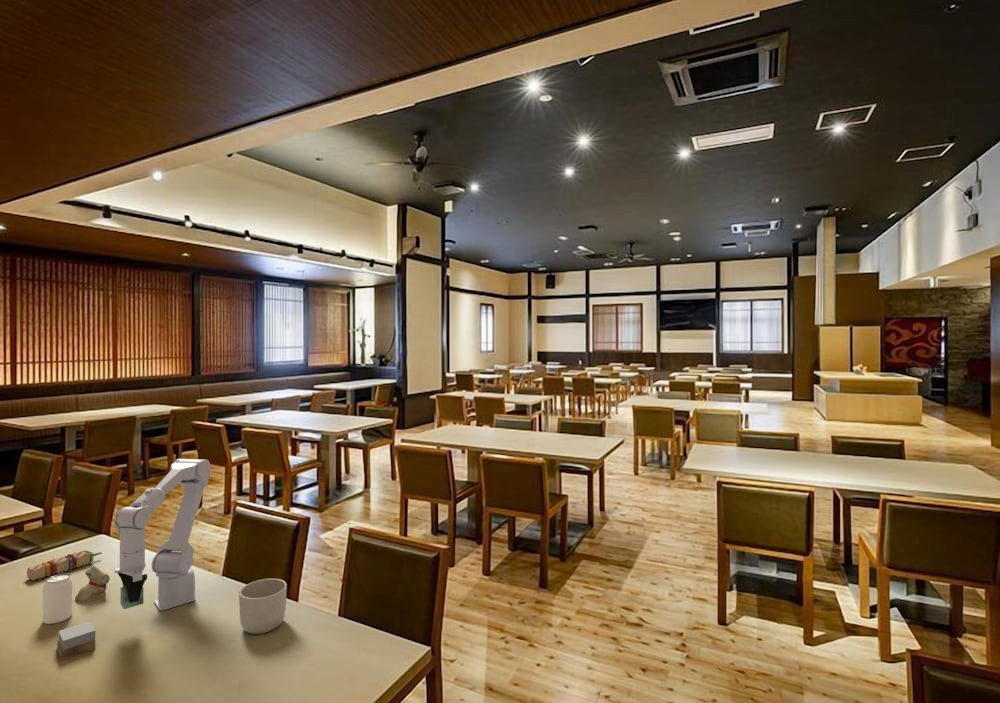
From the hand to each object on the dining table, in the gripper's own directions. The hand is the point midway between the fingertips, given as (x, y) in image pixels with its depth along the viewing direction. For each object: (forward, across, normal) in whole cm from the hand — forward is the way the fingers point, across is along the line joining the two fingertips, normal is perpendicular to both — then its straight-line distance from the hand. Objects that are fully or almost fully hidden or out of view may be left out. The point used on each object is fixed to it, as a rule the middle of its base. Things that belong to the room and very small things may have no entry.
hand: (132, 598), depth 142 cm
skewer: (+10, -62, -8) cm, 63 cm away
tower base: (+10, 0, -12) cm, 15 cm away
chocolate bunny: (+9, -31, -5) cm, 33 cm away
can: (+9, -22, -14) cm, 28 cm away
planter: (+9, +23, +27) cm, 37 cm away
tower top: (+7, 0, -12) cm, 14 cm away
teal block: (+2, 0, 0) cm, 2 cm away
